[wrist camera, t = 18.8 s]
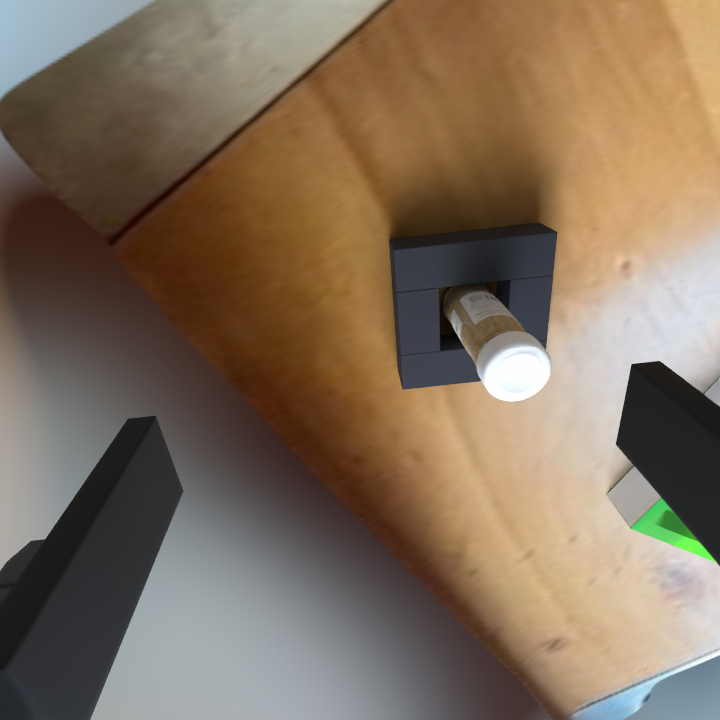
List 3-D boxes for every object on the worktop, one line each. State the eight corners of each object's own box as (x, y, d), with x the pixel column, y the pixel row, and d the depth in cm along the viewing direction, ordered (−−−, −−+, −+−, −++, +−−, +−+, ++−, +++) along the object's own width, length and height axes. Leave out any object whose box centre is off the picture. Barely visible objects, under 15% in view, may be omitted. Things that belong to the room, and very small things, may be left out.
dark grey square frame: (388, 239, 39) (393, 249, 36) (540, 222, 39) (557, 231, 36) (398, 371, 45) (402, 389, 42) (529, 356, 45) (543, 374, 42)
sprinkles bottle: (434, 316, 43) (472, 393, 31) (454, 270, 41) (503, 333, 29) (478, 330, 44) (532, 411, 32) (500, 286, 42) (567, 354, 30)
